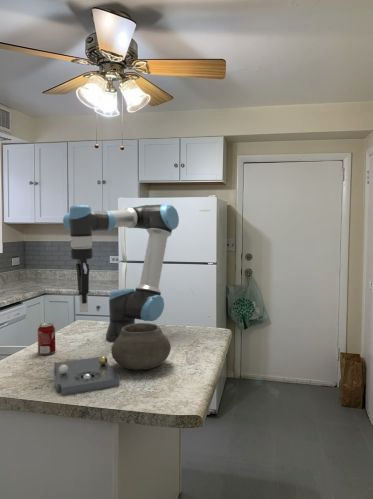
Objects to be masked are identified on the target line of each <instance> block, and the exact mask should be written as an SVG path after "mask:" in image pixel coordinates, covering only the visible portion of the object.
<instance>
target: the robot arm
mask: <svg viewBox="0 0 373 499" xmlns="http://www.w3.org/2000/svg"><path fill="white" fill-rule="evenodd" d="M179 221H180V217H179V213H178V210H177V209H176V208H175V206H173V205H172V204H165V203H162V204H150V205H149V204H145V205H140V206H135V207H126V208H125V209H124V210H123V209H122V210H120V209H119V210H100V211H99V210H98V211H96V210H95V211H92V208H91V205H71V206H70V208H69V212H67V213H65V215H64V216H63V218H62V224H63V226H64V228H65V229H66V230H67V231H69V232H70V239H68V242H70V247H71V250H70V255H71V256H70V258H71V259H72V260H77V263H75V269H76V277H77V278H76V279H77V291H78V293H77V295H78V296H79V312H80V313H86V312H88V313H89V302H88V301H89V300H88V299H89V298H88V294H89V293H90V290H89V289H90V288H89V287H90V284H89V282H90V281H89V280H90V266H89V263H88V259H89V260H90V259H93V248H92V247H93V234H92V232H102V231H104V232H107V231H112V230H113V229H114V228H123V227H125V228H127V229H141V230H146V232H147V233H148V238H147V243H146V249H145V255H144V260H143V266H142V272H141V276H140V282H139V284H138V285H137V287H135V289H134V288H125V289H124V288H122V289H115V290H112V291H110V293H109V298H108V299H109V300H108V304H109V305H108V308H109V312H108V313H109V323H108V327H107V331H106V335H105V341H107V342H109V343H114V342H115V340H116V339H117V338H118V337H119V335H120V333H121V329H122V328H123V327H124V326H127V325H131V324H136V320H138V321H139V320H140V321H145V322H154V321H156V320H158V318H160V317H161V315H162V314H163V311H164V309H165V302H164V301H165V300H164V298H163V297H162V295H161V294H162V292H161V290H160V289H159V286H160V280H161V275H162V270H163V263H164V259H165V253H166V247H167V243H168V242H167V241H168V238H169V237H170V236H172V234H173V231H175V229H177V228H178V227H179Z"/></svg>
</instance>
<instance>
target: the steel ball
mask: <svg viewBox="0 0 373 499" xmlns="http://www.w3.org/2000/svg"><path fill="white" fill-rule="evenodd" d="M91 378H92V376H91V375H90V374H85V375H84V376H83V378H82V379H91Z"/></svg>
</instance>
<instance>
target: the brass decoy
mask: <svg viewBox="0 0 373 499" xmlns="http://www.w3.org/2000/svg"><path fill="white" fill-rule="evenodd" d="M99 357H100V358H99V363H100V364H101V365H105V364H106V363H107V362H108V358H107V356H105V355H104V356H103V355H101V356H99Z"/></svg>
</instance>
